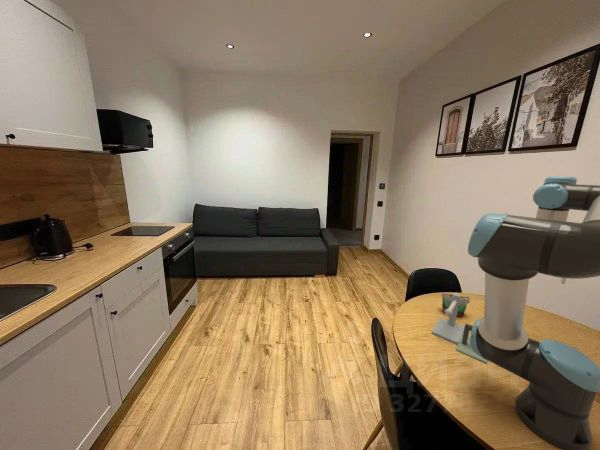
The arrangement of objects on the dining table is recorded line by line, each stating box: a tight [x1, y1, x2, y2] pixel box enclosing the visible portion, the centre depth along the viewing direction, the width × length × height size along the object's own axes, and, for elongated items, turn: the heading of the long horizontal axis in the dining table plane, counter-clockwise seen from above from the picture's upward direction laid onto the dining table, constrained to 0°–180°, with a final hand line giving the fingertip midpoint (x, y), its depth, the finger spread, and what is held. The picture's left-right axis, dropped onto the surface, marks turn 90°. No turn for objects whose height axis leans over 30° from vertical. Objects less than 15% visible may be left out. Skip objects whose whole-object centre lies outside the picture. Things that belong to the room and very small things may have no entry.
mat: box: [455, 334, 489, 365], centre depth 97 cm, size 12×10×1 cm
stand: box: [431, 292, 465, 346], centre depth 105 cm, size 15×10×16 cm
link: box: [462, 323, 473, 345], centre depth 96 cm, size 2×8×9 cm, turn 46°
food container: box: [440, 292, 471, 318], centre depth 118 cm, size 12×6×10 cm, turn 72°
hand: (536, 276), depth 89 cm, fingers open, 13 cm apart
